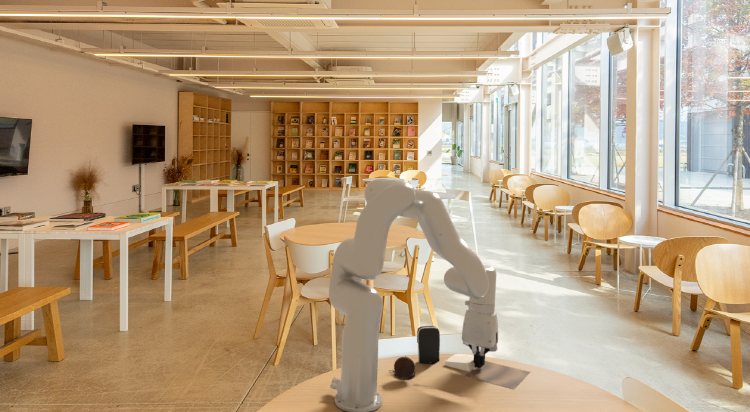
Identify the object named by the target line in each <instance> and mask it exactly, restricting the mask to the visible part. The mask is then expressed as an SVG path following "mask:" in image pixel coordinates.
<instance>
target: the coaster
mask: <svg viewBox="0 0 750 412" xmlns="http://www.w3.org/2000/svg"><path fill="white" fill-rule="evenodd" d="M444 365H445V366H446V367H450V368H454V369H458V370H461V371H465V372H467V373H468V372H470V371H471V370H473V369H474V368H475V367H474V366H475V363H474V354H466V353H455V354H453V355H452V356H450V357H449V358H448V359H447V358H446V359H445V360H444Z"/></svg>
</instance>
